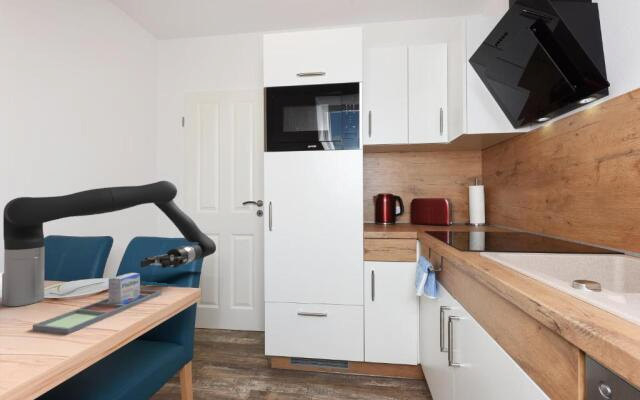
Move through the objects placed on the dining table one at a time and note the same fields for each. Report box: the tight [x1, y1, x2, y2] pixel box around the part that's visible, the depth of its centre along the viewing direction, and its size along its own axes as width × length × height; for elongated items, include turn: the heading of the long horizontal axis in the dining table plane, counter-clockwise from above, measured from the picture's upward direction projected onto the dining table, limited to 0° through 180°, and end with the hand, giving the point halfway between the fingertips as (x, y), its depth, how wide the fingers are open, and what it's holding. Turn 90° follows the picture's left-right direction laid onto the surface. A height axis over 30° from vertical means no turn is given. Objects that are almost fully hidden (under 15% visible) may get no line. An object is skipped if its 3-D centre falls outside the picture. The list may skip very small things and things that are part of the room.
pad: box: [46, 313, 100, 328], centre depth 82 cm, size 10×11×1 cm
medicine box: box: [108, 272, 141, 305], centre depth 98 cm, size 8×4×9 cm, turn 168°
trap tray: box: [32, 289, 162, 335], centre depth 92 cm, size 11×32×1 cm, turn 169°
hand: (151, 264), depth 109 cm, fingers open, 8 cm apart
